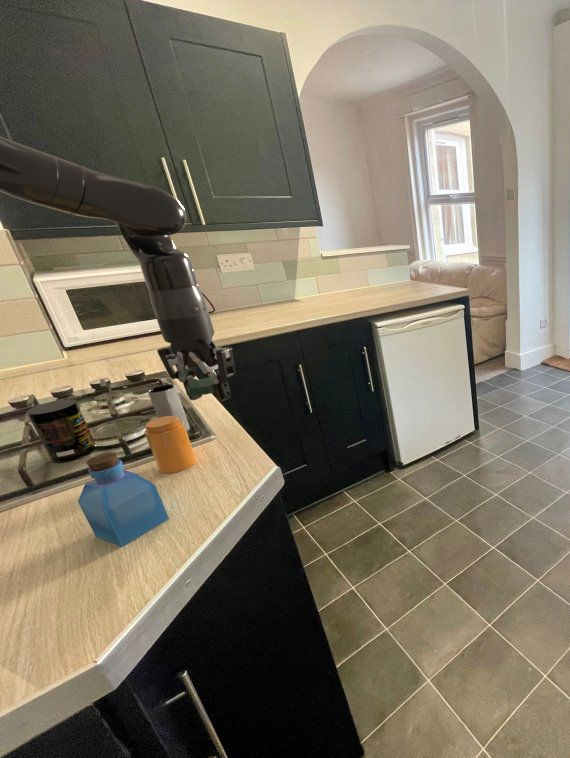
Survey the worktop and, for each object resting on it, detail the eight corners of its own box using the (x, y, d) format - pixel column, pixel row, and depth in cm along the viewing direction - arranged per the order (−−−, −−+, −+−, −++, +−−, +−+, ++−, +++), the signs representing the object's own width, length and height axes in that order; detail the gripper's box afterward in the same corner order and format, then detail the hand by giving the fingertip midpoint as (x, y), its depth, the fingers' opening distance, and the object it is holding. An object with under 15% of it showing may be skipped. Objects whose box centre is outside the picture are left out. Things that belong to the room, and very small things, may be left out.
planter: (169, 438, 88) (152, 393, 84) (160, 433, 90) (143, 389, 86) (193, 430, 91) (178, 386, 88) (185, 425, 94) (169, 382, 90)
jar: (153, 475, 75) (134, 430, 72) (168, 459, 80) (151, 416, 77) (189, 470, 76) (172, 425, 73) (201, 455, 81) (186, 412, 78)
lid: (219, 381, 84) (217, 374, 83) (229, 388, 80) (227, 380, 80) (184, 390, 80) (182, 383, 79) (194, 397, 76) (192, 390, 76)
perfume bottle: (122, 546, 59) (87, 474, 54) (95, 536, 61) (60, 466, 56) (169, 518, 64) (140, 450, 60) (143, 510, 66) (113, 444, 62)
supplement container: (100, 442, 87) (79, 396, 84) (95, 455, 82) (73, 407, 78) (55, 452, 84) (31, 405, 80) (47, 467, 79) (21, 417, 75)
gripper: (234, 308, 77) (257, 393, 83) (167, 308, 79) (195, 390, 85) (199, 317, 70) (228, 409, 76) (127, 317, 72) (160, 405, 78)
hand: (210, 398), depth 81 cm, fingers closed on lid, 5 cm apart
